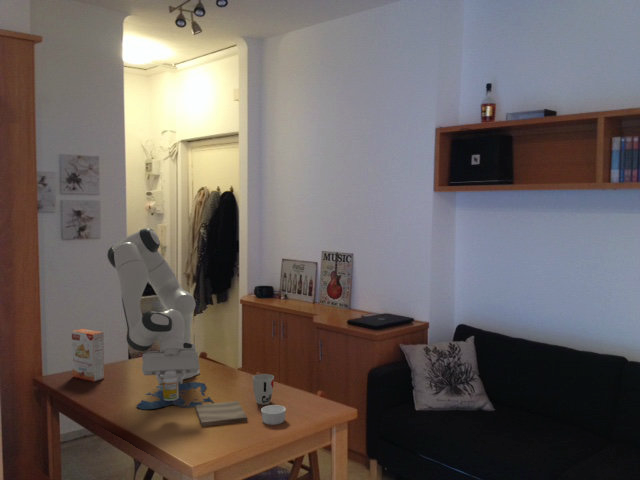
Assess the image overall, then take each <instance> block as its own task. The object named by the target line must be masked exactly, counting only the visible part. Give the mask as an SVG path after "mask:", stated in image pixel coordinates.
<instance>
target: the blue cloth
mask: <svg viewBox="0 0 640 480" xmlns="http://www.w3.org/2000/svg"><path fill="white" fill-rule="evenodd" d="M178 385H179V398H178V399H176V400H173V401H166V400H164V399H163V385H157V386H156V388H157V389H156V390H158V391H156V392H155V391H153V393H154V394H153V393H151V392H148V393H146V394H145V396H151V397H156V398H158V399H159V400H154V401H152V402H151V401H147V400H143V399H141V402H139V403H137V405H136V407H137V408H138V409H140V410H155V409H160V408H164V407H168V406H170V405H174V406H177V407H180V408H195V405H204V404H203V403H211V404H214V401H213V400H212V399H211V397H209V396H207V398H202V400H203V401H198V399H197V398H196V399H195V398H194V399H193V400H192V401H190V402H188V404H187V402H186V400H185V399H184V398H183V397H184V395H185V394H186V392H187V391H188V392H189V391H190V390H192V389H195V390H194V392H196V389H198V388H200V390H199V392H200V394H201V395H202V396H204V397H206V394H205V393H204V392H205V391H206V389H207V388H208V387H207V386H206V383H203V382H197V381H192V382H191V381H190V382H184V383H183V384H178ZM182 391H183V392H182ZM185 391H186V392H185ZM183 394H184V395H183ZM195 401H196V402H195ZM186 404H187V405H186Z"/></svg>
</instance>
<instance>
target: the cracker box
mask: <svg viewBox="0 0 640 480" xmlns="http://www.w3.org/2000/svg"><path fill="white" fill-rule="evenodd" d="M104 345H105V343H104V332H103V331H96V330H93V329H86V328H79V329H74V330H72V331H71V350H72V351H71V354H72V355H71V358H72V359H71V360H72V377H73V378H76V379H80V380H86V381H89V382H98V381H100V380H103V379H105V359H104V358H105V357H104V356H105V355H104V354H105V351H104V350H105V349H104V347H105V346H104Z"/></svg>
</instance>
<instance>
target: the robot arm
mask: <svg viewBox="0 0 640 480" xmlns="http://www.w3.org/2000/svg"><path fill="white" fill-rule="evenodd" d="M160 245H161V243H160V239H159V236H158V234H157V233H156V232H155V231H154V230H153V229H151V228H149V227H146V228H141V229H140V230H139V231H136V232H134V233H131V234H130V235H127V236H126V237H125V238H123V239H122V240H121V241H119V242H117V243H116V244H114V245H112V246H111V247H110V248H109V249H108V250H107V255H106V256H107V259H108V262H109V263H110V264H111V266H112V267H113V268H114V269H116V273H117V276H118V280H119V285H120V292H121V302H122V309H123V312H124V319H125V322H126V323H125V324H126V327H127V329H126V330H127V332H126V342H127V344H128V345H129V347H131V348H132V349H133V350H134V351H138V352H144V353H143V354H142V366H141V371H142V374H143V375H144V376H156V379H157V381H158V386H163V379H164V378H165V372H166V371H171V370H173V371H176V377H177V378H178V384H183V380H186V379H190V378H192V377H194V376H197V375H200V374H201V372H200V358H199V355H198V352H197V348H196V344H195V343H192V340H191V339H192V321H193V317H194V311H195V308H196V305H197V303H196V300H195V298H194V296H193V295H192V293H191V292H188V291H187V290H184V288H182V286H181V284H180V283H179V280H178V278H177V277H176V274H175V272H174V271H173V269H172V268H171V266H170V265H169V263H168V262H167V260H166V259H165V257H164V256H163V255H162V253H161V252H160V251H159V250H158V249H159V248H160ZM148 283H149V285H150V286H151V287H152V290H153V291H154V293H155V294H156V296H157V298H158V299H159V301H160V303H161V305H162V306H163V307H164V308H165V311H155V310H149V311H146V312H144V313H143V312H142V309H141V299H142V298H143V297H142V296H143V294H144V291H145V289H146V287H147V284H148ZM156 340H159V350H150V349H151V348H152V347H153V345H154V343H155V342H156Z"/></svg>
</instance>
